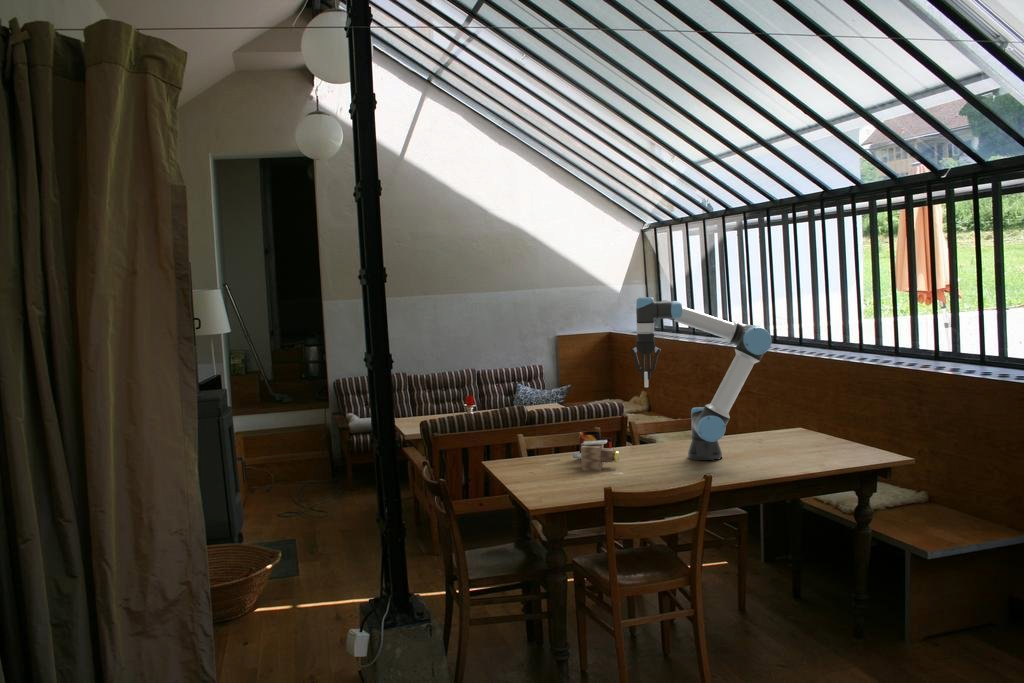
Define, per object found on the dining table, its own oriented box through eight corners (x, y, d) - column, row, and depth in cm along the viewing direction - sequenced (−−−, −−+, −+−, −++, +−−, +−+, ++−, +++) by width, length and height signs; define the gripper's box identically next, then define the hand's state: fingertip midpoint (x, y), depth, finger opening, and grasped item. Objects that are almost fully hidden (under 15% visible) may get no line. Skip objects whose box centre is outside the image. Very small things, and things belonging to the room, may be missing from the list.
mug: (612, 460, 381) (611, 433, 380) (582, 461, 378) (582, 435, 377) (606, 455, 390) (605, 430, 389) (577, 457, 388) (576, 431, 387)
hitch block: (615, 464, 370) (614, 440, 369) (611, 470, 358) (611, 445, 358) (585, 464, 373) (584, 439, 372) (580, 470, 362) (579, 444, 361)
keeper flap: (607, 441, 366) (607, 439, 366) (605, 443, 362) (605, 441, 362) (584, 443, 369) (584, 441, 369) (583, 445, 364) (582, 443, 364)
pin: (619, 460, 366) (619, 450, 365) (618, 463, 361) (617, 452, 361) (574, 459, 371) (573, 449, 370) (572, 461, 366) (571, 451, 366)
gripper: (661, 332, 366) (662, 385, 368) (631, 332, 370) (632, 385, 371) (660, 333, 359) (660, 388, 361) (629, 333, 362) (630, 387, 364)
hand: (646, 386), depth 366 cm, fingers closed
